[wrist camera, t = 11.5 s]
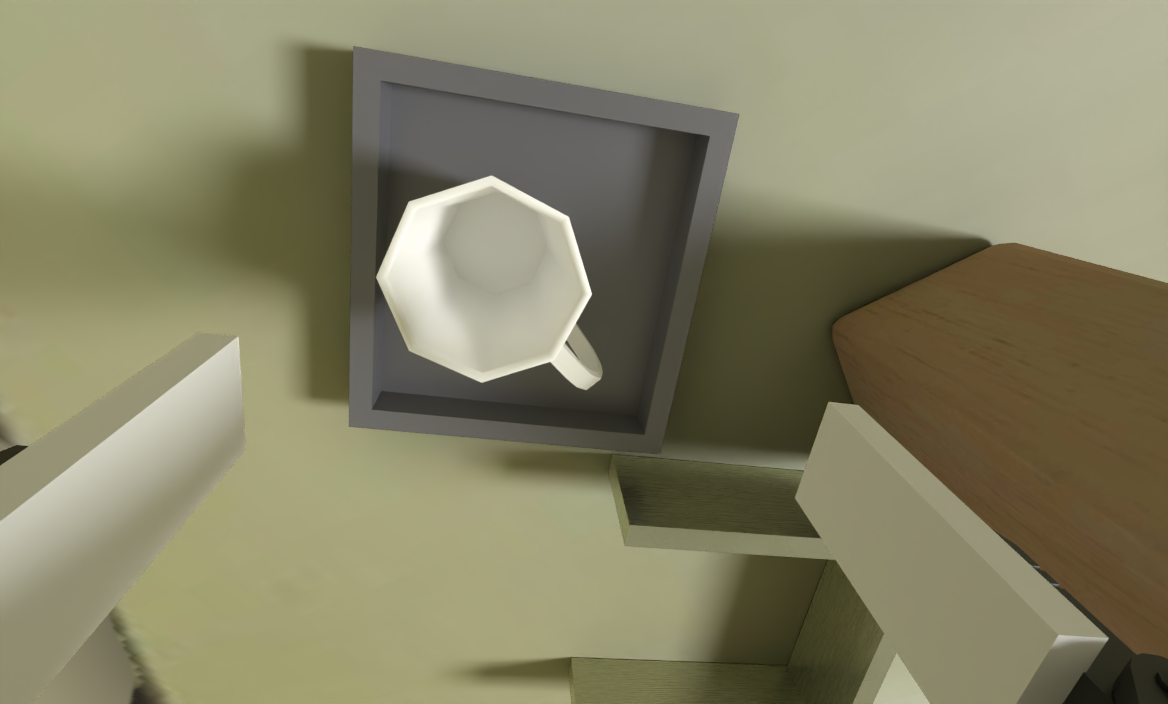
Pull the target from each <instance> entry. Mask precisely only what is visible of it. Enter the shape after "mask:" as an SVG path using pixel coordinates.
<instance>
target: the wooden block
mask: <svg viewBox="0 0 1168 704" xmlns="http://www.w3.org/2000/svg"><path fill="white" fill-rule="evenodd" d="M832 338H833V343H834V346H835V349H836V352H837V355H838V358H839V361H840V364H841V367H842V370H843V372H844V375H845V378H846V381H847V384H848V387H849V390H850V393H851V396H852V399H853V402H854V405H859V406H860V407H861V408H862V409H863V410H864V411H865V412H866V413H867V414H869V415H870V416H871V417H872V418H873V419H874V420H875V421H876V422H877V423H878V424H879V425H880V426H881V427H883V428H884V429H885V430H886V431H887V432H888V433H889V434H890V435H891V436H892V437H893V438H894V439H895V440H897V441H898V442H899V443H900V444H901V445H902V446H903V447H904V448H905V449H906V450H907V451H908V452H909V453H910V454H912V455H913V456H914V457H915V458H916V459H917V460H918V461H919V462H920V463H921V464H922V465H923V466H924V467H926V468H927V469H928V470H929V471H930V472H931V473H932V474H933V475H934V476H935V477H936V478H937V479H938V480H940V481H941V482H942V483H943V484H944V485H945V486H946V487H947V488H948V489H949V490H950V491H951V492H952V493H953V494H955V495H956V496H957V497H958V498H959V499H960V500H961V501H962V502H963V503H964V504H965V505H966V506H967V507H969V508H970V509H971V510H972V511H973V512H974V513H975V514H976V515H977V516H978V517H979V518H980V519H981V520H983V521H984V522H985V523H986V524H987V525H988V526H989V527H990V528H991V529H993V530H994V531H996V532H997V533H999V534H1000V535H1002V536H1004V537H1005V538H1007V539H1008V540H1010V541H1011V542H1013V543H1014V544H1016V545H1017V546H1018V547H1019V548H1020V549H1022V550H1023V551H1024V552H1025V553H1026V554H1027V555H1028V556H1029V557H1030V558H1031V559H1032V560H1034V561H1035V562H1036V563H1037V564H1038V565H1039V566H1040V567H1039V568H1040V570H1044V571H1046V572H1047V573H1048V574H1049V575H1050V576H1051V577H1052V578H1053V579H1054V580H1055V581H1056V582H1058V583H1059V587H1060V588H1061V589H1065V590H1066V591H1067V592H1068V593H1070V594H1071V595H1072V596H1073V597H1074V598H1075V599H1076V600H1077V601H1078V602H1079V603H1081V604H1082V605H1083V606H1084V607H1085V608H1086V609H1087V610H1088V611H1089V612H1090V613H1091V614H1093V615H1094V616H1095V617H1096V618H1097V619H1098V620H1099V621H1100V622H1101V623H1102V624H1103V625H1105V626H1106V627H1107V628H1108V629H1109V630H1110V631H1111V632H1112V633H1113V634H1114V635H1115V636H1117V637H1118V638H1119V639H1120V640H1121V641H1122V642H1123V643H1124V644H1125V645H1126V646H1127V647H1129V648H1130V649H1131V650H1132V651H1133V652H1134V653H1135V654H1136V655H1138V654H1141V653H1145V654H1152V655H1159V656H1162V657H1164V658H1167V659H1168V283H1165V282H1161V281H1157V280H1154V279H1150V278H1146V277H1142V276H1139V275H1135V274H1131V273H1127V272H1123V271H1120V270H1116V269H1112V268H1108V267H1105V266H1101V265H1097V264H1093V263H1089V262H1086V261H1082V260H1078V259H1074V258H1070V257H1067V256H1063V255H1059V254H1055V253H1052V252H1048V251H1044V250H1040V249H1036V248H1033V247H1029V246H1025V245H1021V244H1017V243H1007V244H998V245H994V246H990V247H988V248H986V249H984V250H982V251H980V252H978V253H976V254H973V255H971V256H969V257H967V258H965V259H963V260H961V261H959V262H957V263H954V264H952V265H950V266H948V267H946V268H944V269H942V270H940V271H937V272H935V273H933V274H931V275H929V276H927V277H925V278H923V279H921V280H918V281H916V282H914V283H912V284H910V285H908V286H906V287H904V288H902V289H899V290H897V291H895V292H893V293H891V294H889V295H887V296H885V297H883V298H880V299H878V300H876V301H874V302H872V303H870V304H868V305H866V306H864V307H861V308H859V309H857V310H855V311H853V312H851V313H849V314H847V315H845V316H842V317H841V318H840V319H838V320H837V321H836V322H835V323H834V324H833V325H832Z"/></svg>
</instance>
